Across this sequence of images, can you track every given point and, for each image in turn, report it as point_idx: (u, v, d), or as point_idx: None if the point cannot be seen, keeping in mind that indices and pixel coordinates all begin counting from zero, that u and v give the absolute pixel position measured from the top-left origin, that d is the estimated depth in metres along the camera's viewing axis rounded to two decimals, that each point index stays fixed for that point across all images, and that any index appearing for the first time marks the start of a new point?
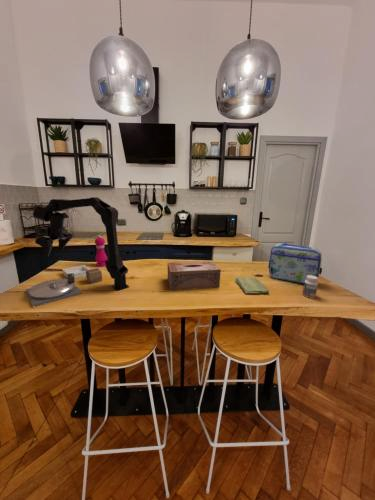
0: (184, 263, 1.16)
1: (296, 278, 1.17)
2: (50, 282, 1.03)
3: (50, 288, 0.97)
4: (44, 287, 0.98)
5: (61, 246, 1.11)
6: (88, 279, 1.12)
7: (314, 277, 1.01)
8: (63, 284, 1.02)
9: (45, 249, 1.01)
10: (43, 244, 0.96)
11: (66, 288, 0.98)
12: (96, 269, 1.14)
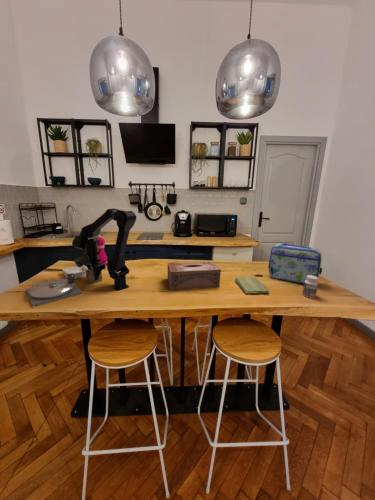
0: (184, 263, 1.16)
1: (296, 278, 1.17)
2: (50, 282, 1.03)
3: (50, 288, 0.97)
4: (44, 287, 0.98)
5: None
6: (88, 279, 1.12)
7: (314, 277, 1.01)
8: (63, 284, 1.02)
9: (96, 273, 1.10)
10: (102, 268, 1.06)
11: (66, 288, 0.98)
12: None
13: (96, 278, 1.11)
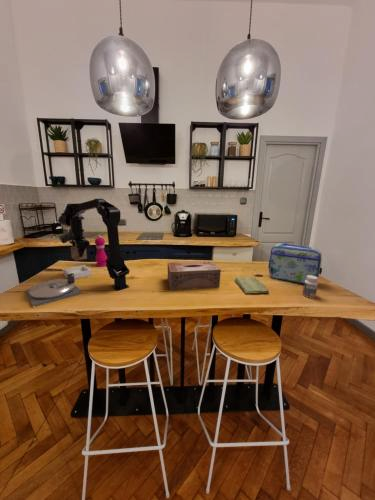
0: (184, 263, 1.16)
1: (296, 278, 1.17)
2: (50, 282, 1.03)
3: (50, 288, 0.97)
4: (44, 287, 0.98)
5: None
6: (73, 256, 1.15)
7: (314, 277, 1.01)
8: (63, 284, 1.02)
9: (80, 250, 1.13)
10: (86, 244, 1.09)
11: (66, 288, 0.98)
12: None
13: (80, 255, 1.14)
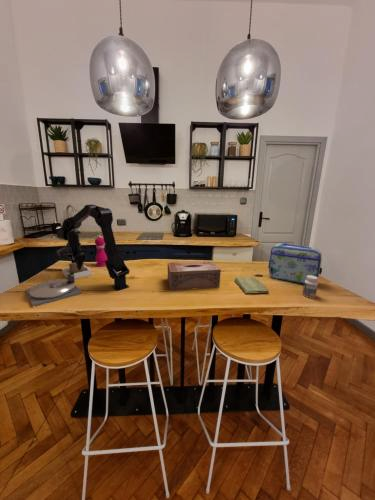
0: (184, 263, 1.16)
1: (296, 278, 1.17)
2: (50, 282, 1.03)
3: (50, 288, 0.97)
4: (44, 287, 0.98)
5: (74, 260, 1.24)
6: (71, 272, 1.19)
7: (314, 277, 1.01)
8: (63, 284, 1.02)
9: (79, 263, 1.16)
10: (83, 258, 1.13)
11: (66, 288, 0.98)
12: None
13: (79, 268, 1.17)
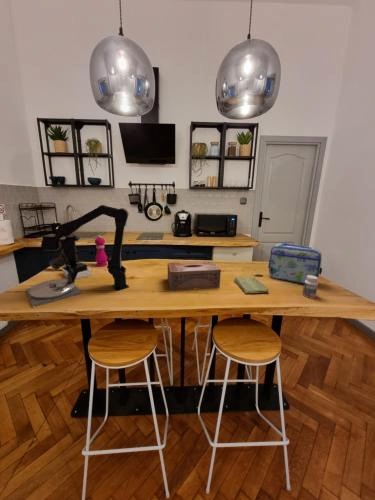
0: (184, 263, 1.16)
1: (296, 278, 1.17)
2: (50, 282, 1.03)
3: (50, 288, 0.97)
4: (44, 287, 0.98)
5: None
6: None
7: (314, 277, 1.01)
8: (63, 284, 1.02)
9: (73, 273, 1.00)
10: (84, 269, 0.96)
11: (66, 288, 0.98)
12: None
13: (73, 279, 1.02)
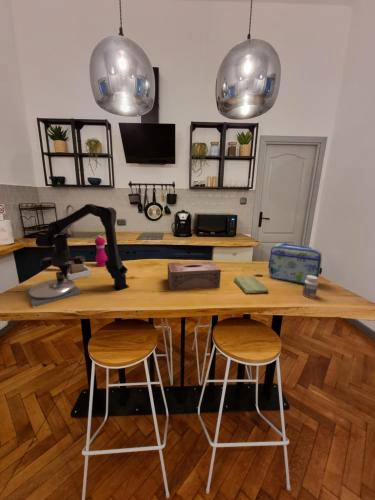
0: (184, 263, 1.16)
1: (296, 278, 1.17)
2: (40, 286, 0.99)
3: (56, 287, 0.98)
4: (45, 289, 0.96)
5: None
6: (71, 272, 1.19)
7: (314, 277, 1.01)
8: (57, 282, 1.04)
9: (67, 269, 1.06)
10: (84, 259, 1.08)
11: (70, 282, 1.04)
12: None
13: (67, 274, 1.07)
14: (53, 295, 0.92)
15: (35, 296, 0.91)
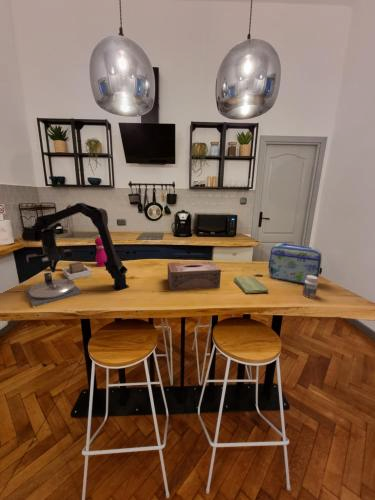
0: (184, 263, 1.16)
1: (296, 278, 1.17)
2: (38, 289, 0.96)
3: (59, 286, 1.00)
4: (50, 289, 0.96)
5: None
6: (71, 272, 1.19)
7: (314, 277, 1.01)
8: (51, 283, 1.03)
9: None
10: None
11: (65, 280, 1.07)
12: (79, 263, 1.22)
13: None
14: (67, 291, 0.97)
15: (49, 296, 0.92)
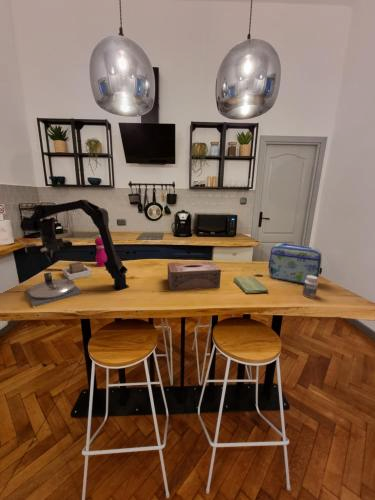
0: (184, 263, 1.16)
1: (296, 278, 1.17)
2: (38, 289, 0.96)
3: (59, 286, 1.00)
4: (50, 289, 0.96)
5: None
6: (71, 272, 1.19)
7: (314, 277, 1.01)
8: (51, 283, 1.03)
9: None
10: None
11: (65, 280, 1.07)
12: (79, 263, 1.22)
13: None
14: (67, 291, 0.97)
15: (49, 296, 0.92)
